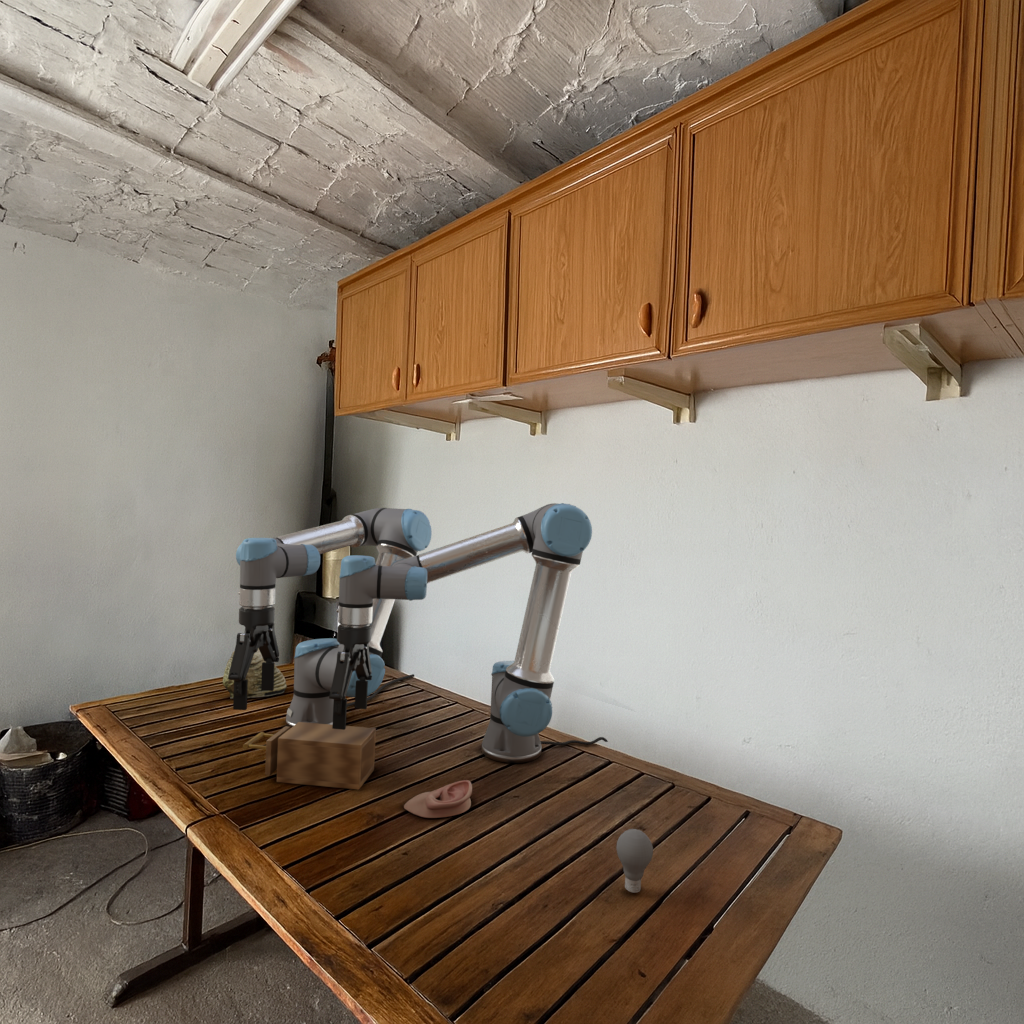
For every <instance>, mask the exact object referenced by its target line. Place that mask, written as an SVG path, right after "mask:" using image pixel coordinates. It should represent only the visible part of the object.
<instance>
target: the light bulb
mask: <svg viewBox="0 0 1024 1024" xmlns="http://www.w3.org/2000/svg"><path fill="white" fill-rule="evenodd" d="M615 849H616V854H617V857H618V859H619V861H620V863H621V865H622V867H623V873H624V874H623V875H624V876H625V878H624V888H625V890H627V891H628V892H630V893H634V894H635V893H639V892H640V891H641V889H642V887H641V886H642V879H643V877H644V875H645V871H646V868H647V867H648V866H649V864H650V863H651V861H652V859H653V855H654V847H653V843H652V841H651V838H649V836H648V835H647V834H646V833H645V832H643V831H642V830H641V829H636V828H629V829H627V830H625V831H623V832H622V833H621V834H620V835H619V837H618V839H617V841H616V847H615Z"/></svg>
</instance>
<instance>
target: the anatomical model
mask: <svg viewBox="0 0 1024 1024" xmlns="http://www.w3.org/2000/svg"><path fill="white" fill-rule="evenodd" d="M472 793H473V785H472V782H471V781H470V780H468V779H466V780H464V779H463V780H458V781H455V782H453V783H449V784H446V785H444V786H441V787H440V788H437V789H434V790H432V791H425V792H422V793H419V794H416V795H415V796H414V797H412V798H410V799H409V800H407V801H406V802H405V804H403V808H404V810H406V811H408V812H409V813H411V814H413V815H415V816H418V817H421V818H424V819H437V818H447V817H452V816H457V815H460V814H462V813H465V812H467V811H468V810H469V809H470V808H471V806H472V801H471V798H470V797H471V796H472Z"/></svg>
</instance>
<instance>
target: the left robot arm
mask: <svg viewBox="0 0 1024 1024" xmlns="http://www.w3.org/2000/svg"><path fill="white" fill-rule="evenodd" d="M432 532H433V531H432V526H431V522H430V519H429V518H428V516H427V515H426V514H425V513H424V512H423V511H421V510H418V509H413V508H394V507H393V508H391V507H375V508H371V509H367V510H362V511H360V512H356V513H352V514H348V515H346V516H344V517H343V518H342V520H339V521H335V522H331V523H326V524H323V525H320V526H319V525H318V526H313V527H310V528H306V529H303V530H298V531H295V532H291V533H287V534H282V535H279V536H274V537H248V538H245V539H243V540H242V542H241V543H240V544H239V546H238V547H237V549H236V552H235V559H236V562H237V564H238V566H239V590H238V593H237V594H238V596H239V601H238V602H239V606H240V607H239V609H238V623H239V625H241V626H243V627H244V631H243V632H238V633H237V634H236V641H235V647H234V650H233V652H234V655H233V659H232V663H231V667H230V671H229V675H228V679H229V680H234V696H233V698H232V700H233V701H232V710H236V711H246V710H248V698H247V690H248V679H246V676H247V673H248V670H249V667H250V664H251V661H252V658H253V656H254V653H255V652H257V651H258V648H259V650H260V653H261V655H262V657H263V659H264V661H265V662H263V663H262V681H261V690H265V691H273V690H274V664H275V665H276V663H279V662H280V650H279V646H278V641H277V636H276V631H275V614H276V613H275V612H276V609H275V607H274V606H275V604H276V586H277V585H276V584H277V583H276V582H277V579H282V578H293V577H305V576H308V575H310V576H311V575H314V574H315V573H316V572H317V571H318V570H319V568H320V565H321V555H322V554H326V553H329V552H332V551H335V550H339V549H343V548H347V547H350V548H359V547H363V546H371V547H372V546H374V547H375V548H376V550H377V552H378V555H377V558H376V560H375V563H376V565H379V566H391V565H392V564H393V563H394V562H395V561H398V560H400V559H408V558H411V557H414V556H417V555H418V553H419V552H421V551H424V550H426V549H427V548H428V547H429V545H430V543H431V540H432V536H433V535H432ZM395 601H396V599H373V616H372V623H371V624H369V625H371V627H372V633H371V641H370V642H369V655H370V663H371V670H372V674H371V676H372V680H367V681H368V692H367V702H368V701H369V702H370V701H371V700H372V699H374V698H376V695H378V694H379V693H381V691H382V690H384V689H385V688H386V687H389V686H390V685H392V684H395V683H398V682H401V681H403V680H407V679H412V678H414V677H415V673H412V674H409V675H405V676H402V677H398V678H395V679H393V680H392V679H391V680H390V681H388V682H386V683H384V684H383V685H382V683H383V681H384V678H385V673H386V667H385V666H386V665H385V660H383V658H382V656H383V652H384V651H383V649H382V647H381V641H382V638H383V636H384V633H385V630H386V627H387V625H388V621H389V619H390V615H391V613H392V610H393V607H394V604H395ZM343 650H344V645H343V644H342V643H339V642H338V641H337V638H335V637H333V638H332V637H329V638H315V639H308V640H304V641H302V642H299V643H298V644H297V645H296V646H295V652H294V653H295V654H294V656H293V659H294V661H293V662H294V663H293V664H294V668H293V695H292V696H293V697H292V699H291V702H290V704H289V707H288V708H287V710H286V715H285V726H288V727H290V728H292V727H293V726H294V725H296V724H297V723H298V722H305V723H317V724H329V725H333V704H334V699H329V695H330V691H331V686H332V682H333V677H334V672H335V668H336V663H337V653H338V652H343ZM367 670H368V669H367ZM356 680H360V679H358V678H357V675H356V672H355V671H353V673H352V676H351V680H350V683H349V687H348V690H347V694H346V697H348V698H355V689H356ZM351 706H355V701H351V702H347V708H349V707H351Z"/></svg>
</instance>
